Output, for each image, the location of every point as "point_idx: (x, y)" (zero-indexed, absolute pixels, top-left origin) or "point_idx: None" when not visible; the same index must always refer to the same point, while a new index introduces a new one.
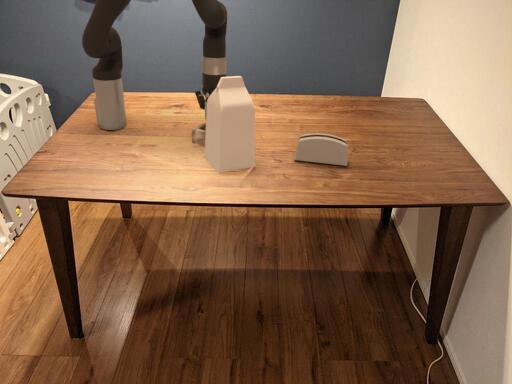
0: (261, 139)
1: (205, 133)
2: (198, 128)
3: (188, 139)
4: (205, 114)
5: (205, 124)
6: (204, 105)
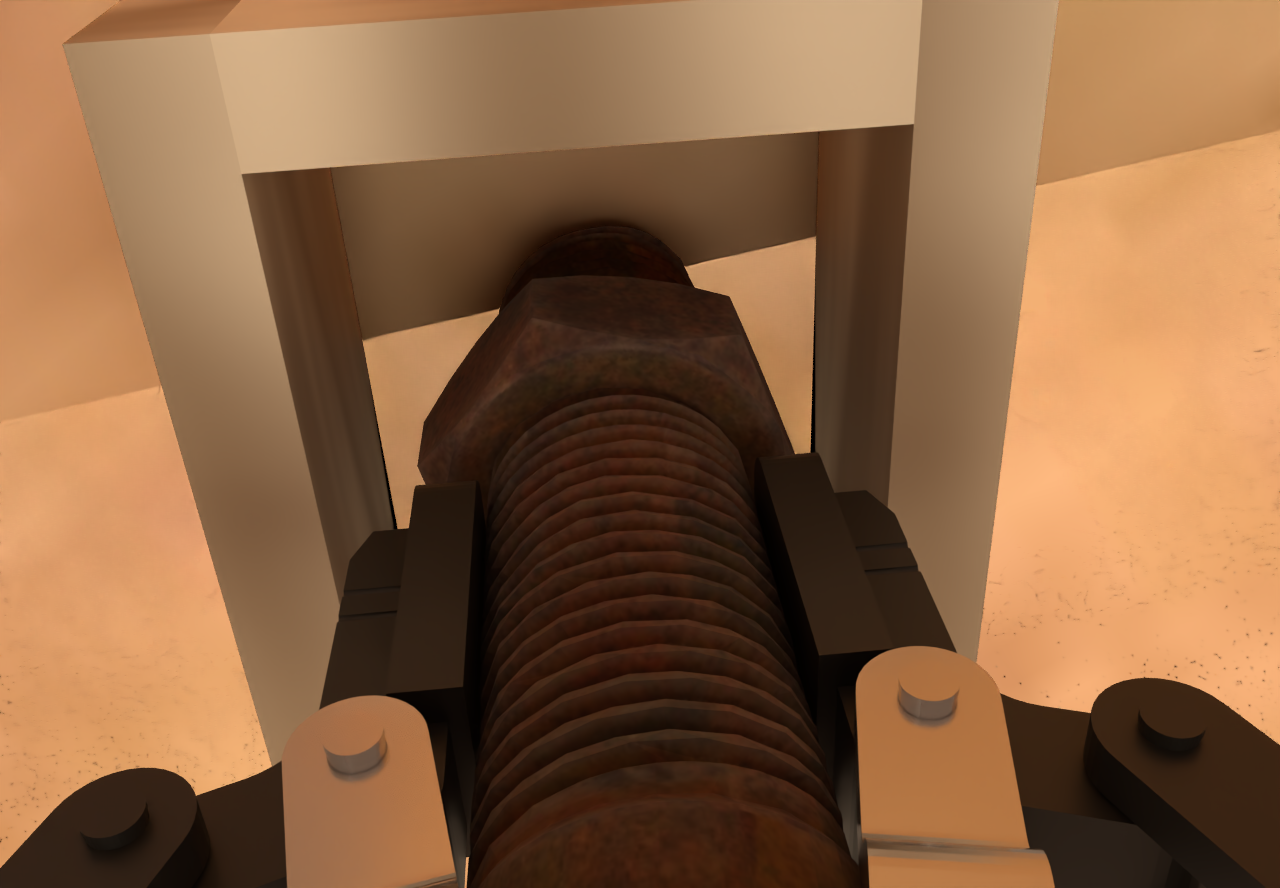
0: (5, 831)
1: (552, 6)
2: (910, 151)
3: (1108, 46)
4: (926, 602)
5: (904, 485)
6: (1104, 862)
